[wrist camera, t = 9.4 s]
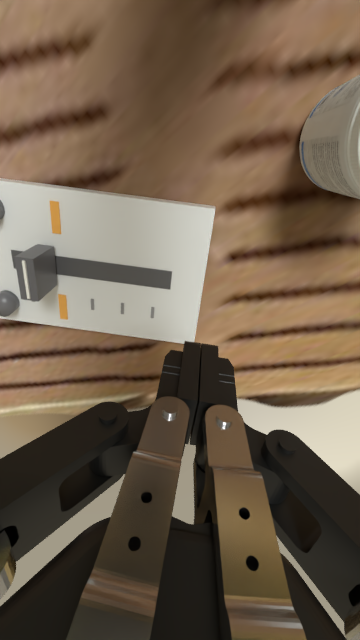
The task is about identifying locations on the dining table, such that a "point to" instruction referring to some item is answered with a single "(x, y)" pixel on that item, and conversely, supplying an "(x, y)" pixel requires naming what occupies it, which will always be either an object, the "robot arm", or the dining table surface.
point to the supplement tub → (334, 141)
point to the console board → (107, 259)
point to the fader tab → (36, 272)
